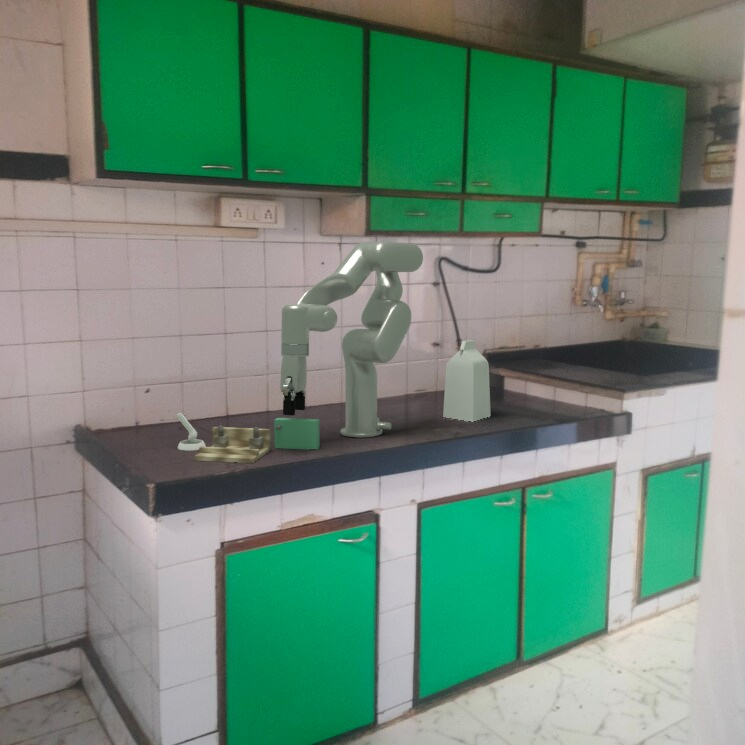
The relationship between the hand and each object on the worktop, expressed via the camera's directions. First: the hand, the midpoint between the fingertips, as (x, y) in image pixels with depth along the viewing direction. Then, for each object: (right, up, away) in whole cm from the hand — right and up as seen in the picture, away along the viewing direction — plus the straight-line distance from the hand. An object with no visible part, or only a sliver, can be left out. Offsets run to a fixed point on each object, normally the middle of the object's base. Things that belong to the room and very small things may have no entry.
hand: (294, 412), depth 199 cm
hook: (-29, -10, +2) cm, 31 cm away
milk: (+54, -4, +46) cm, 71 cm away
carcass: (-15, -11, -7) cm, 20 cm away
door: (+1, -10, +2) cm, 10 cm away
